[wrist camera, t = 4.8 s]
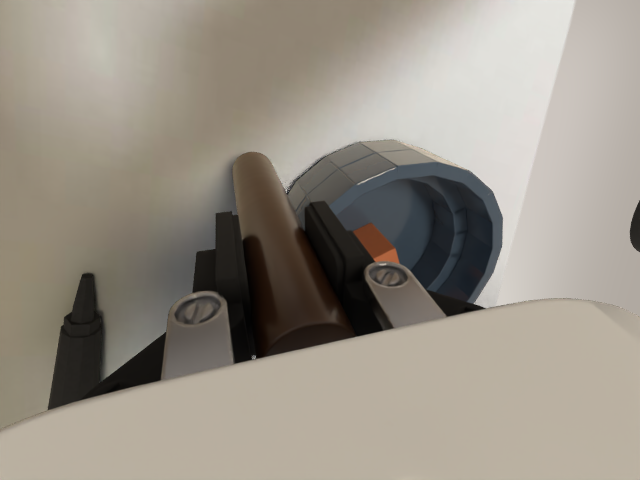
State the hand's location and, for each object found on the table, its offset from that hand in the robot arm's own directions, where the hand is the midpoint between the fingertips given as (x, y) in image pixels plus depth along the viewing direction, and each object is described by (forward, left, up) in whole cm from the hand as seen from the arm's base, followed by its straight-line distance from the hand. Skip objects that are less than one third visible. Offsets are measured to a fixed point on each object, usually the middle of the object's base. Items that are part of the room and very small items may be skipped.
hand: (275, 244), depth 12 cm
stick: (0, 0, -9) cm, 9 cm away
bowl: (-9, +7, -11) cm, 15 cm away
